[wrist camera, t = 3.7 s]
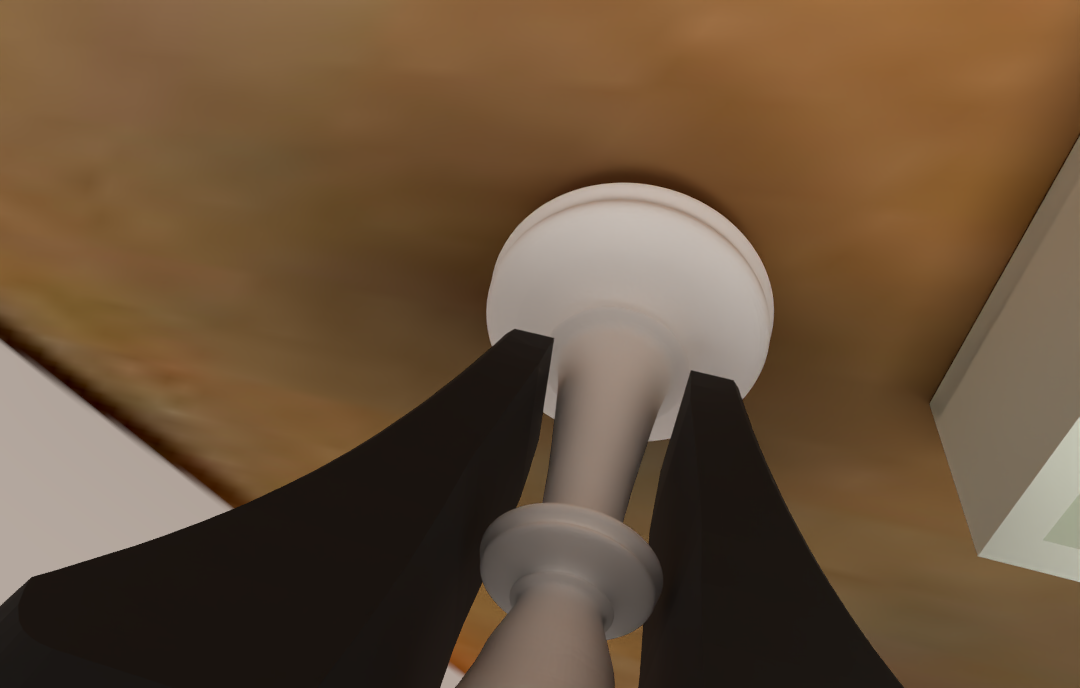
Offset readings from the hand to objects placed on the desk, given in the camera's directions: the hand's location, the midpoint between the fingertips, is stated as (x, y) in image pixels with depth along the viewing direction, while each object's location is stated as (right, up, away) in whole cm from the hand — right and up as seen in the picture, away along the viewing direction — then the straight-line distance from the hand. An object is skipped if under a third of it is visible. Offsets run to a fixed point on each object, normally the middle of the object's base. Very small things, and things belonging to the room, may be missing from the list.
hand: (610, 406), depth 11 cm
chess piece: (+1, +2, +2) cm, 3 cm away
